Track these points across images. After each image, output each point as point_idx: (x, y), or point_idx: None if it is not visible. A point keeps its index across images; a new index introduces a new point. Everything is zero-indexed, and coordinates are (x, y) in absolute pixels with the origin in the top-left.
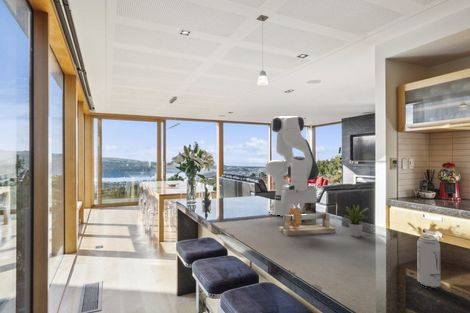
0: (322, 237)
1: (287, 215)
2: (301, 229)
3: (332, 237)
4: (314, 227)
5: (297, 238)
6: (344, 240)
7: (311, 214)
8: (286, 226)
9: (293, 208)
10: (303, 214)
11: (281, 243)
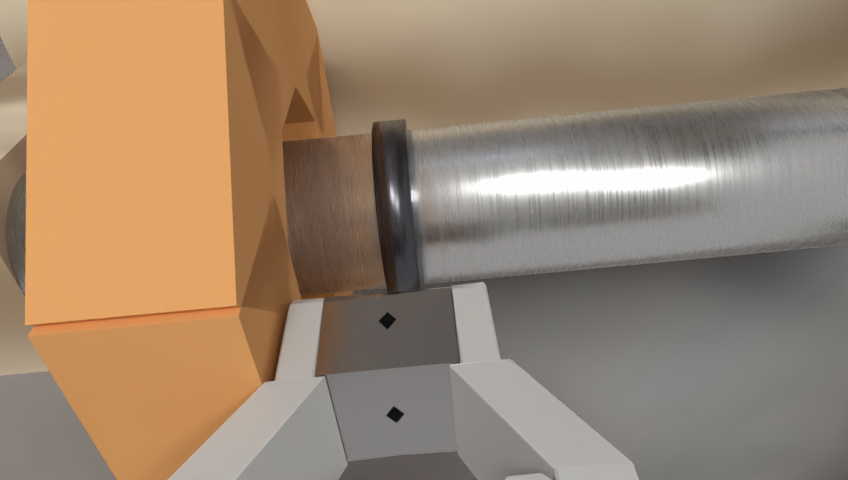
0: (578, 351)
1: (4, 342)
2: None
3: (692, 361)
4: (714, 83)
5: None
6: (726, 445)
7: (779, 245)
8: None
9: (133, 470)
10: (527, 259)
11: (45, 466)
